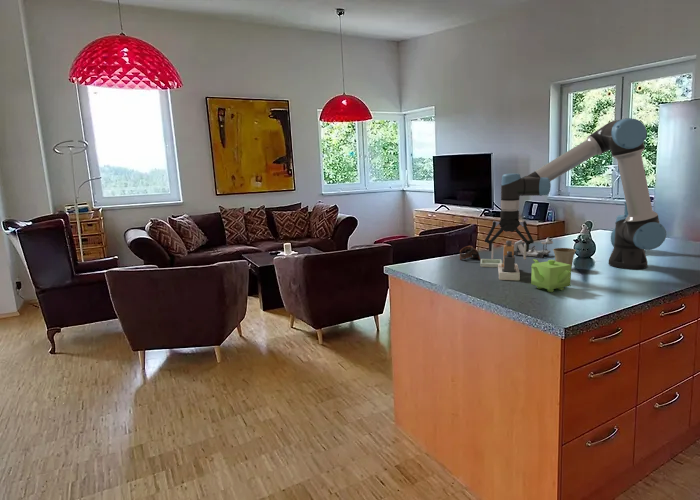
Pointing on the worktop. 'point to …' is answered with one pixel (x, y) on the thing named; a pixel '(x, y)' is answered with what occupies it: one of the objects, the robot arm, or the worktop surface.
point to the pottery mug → (469, 253)
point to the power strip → (508, 268)
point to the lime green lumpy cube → (550, 275)
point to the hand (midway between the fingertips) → (508, 258)
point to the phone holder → (532, 252)
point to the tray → (490, 262)
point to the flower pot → (564, 255)
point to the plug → (508, 249)
